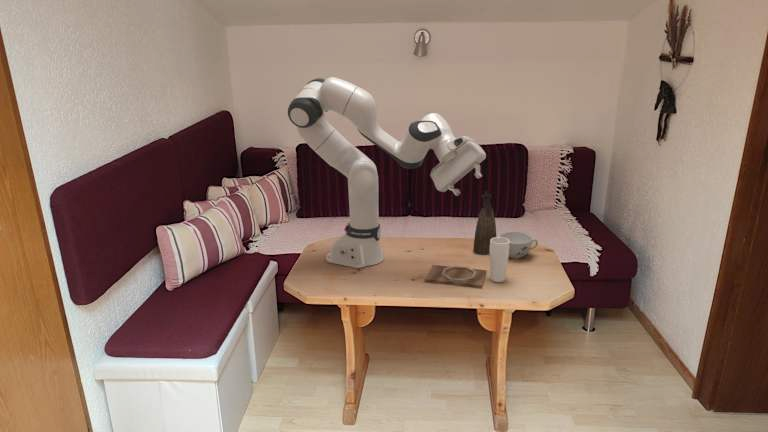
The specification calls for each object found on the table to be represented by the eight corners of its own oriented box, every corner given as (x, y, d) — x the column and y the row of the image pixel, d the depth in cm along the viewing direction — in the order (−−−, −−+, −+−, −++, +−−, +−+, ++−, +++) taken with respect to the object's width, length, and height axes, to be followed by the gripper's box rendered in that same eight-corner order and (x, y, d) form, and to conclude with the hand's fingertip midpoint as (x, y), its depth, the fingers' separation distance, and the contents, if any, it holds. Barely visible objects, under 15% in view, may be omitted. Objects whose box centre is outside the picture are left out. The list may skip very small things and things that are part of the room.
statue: (483, 246, 223) (487, 188, 214) (498, 251, 218) (504, 192, 209) (470, 252, 217) (474, 193, 208) (486, 258, 212) (491, 197, 203)
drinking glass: (507, 284, 189) (510, 244, 184) (487, 283, 190) (489, 243, 186) (507, 276, 195) (509, 237, 190) (488, 275, 197) (490, 236, 192)
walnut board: (424, 282, 192) (424, 276, 191) (432, 267, 204) (432, 262, 203) (481, 288, 186) (482, 283, 186) (486, 273, 198) (486, 268, 197)
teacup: (503, 262, 207) (504, 243, 204) (495, 250, 219) (496, 231, 216) (542, 261, 207) (543, 241, 205) (532, 249, 219) (533, 230, 217)
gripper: (423, 170, 187) (440, 203, 181) (467, 132, 177) (487, 165, 171) (433, 173, 192) (450, 205, 186) (477, 136, 182) (496, 168, 176)
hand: (468, 186), depth 178 cm, fingers open, 8 cm apart
